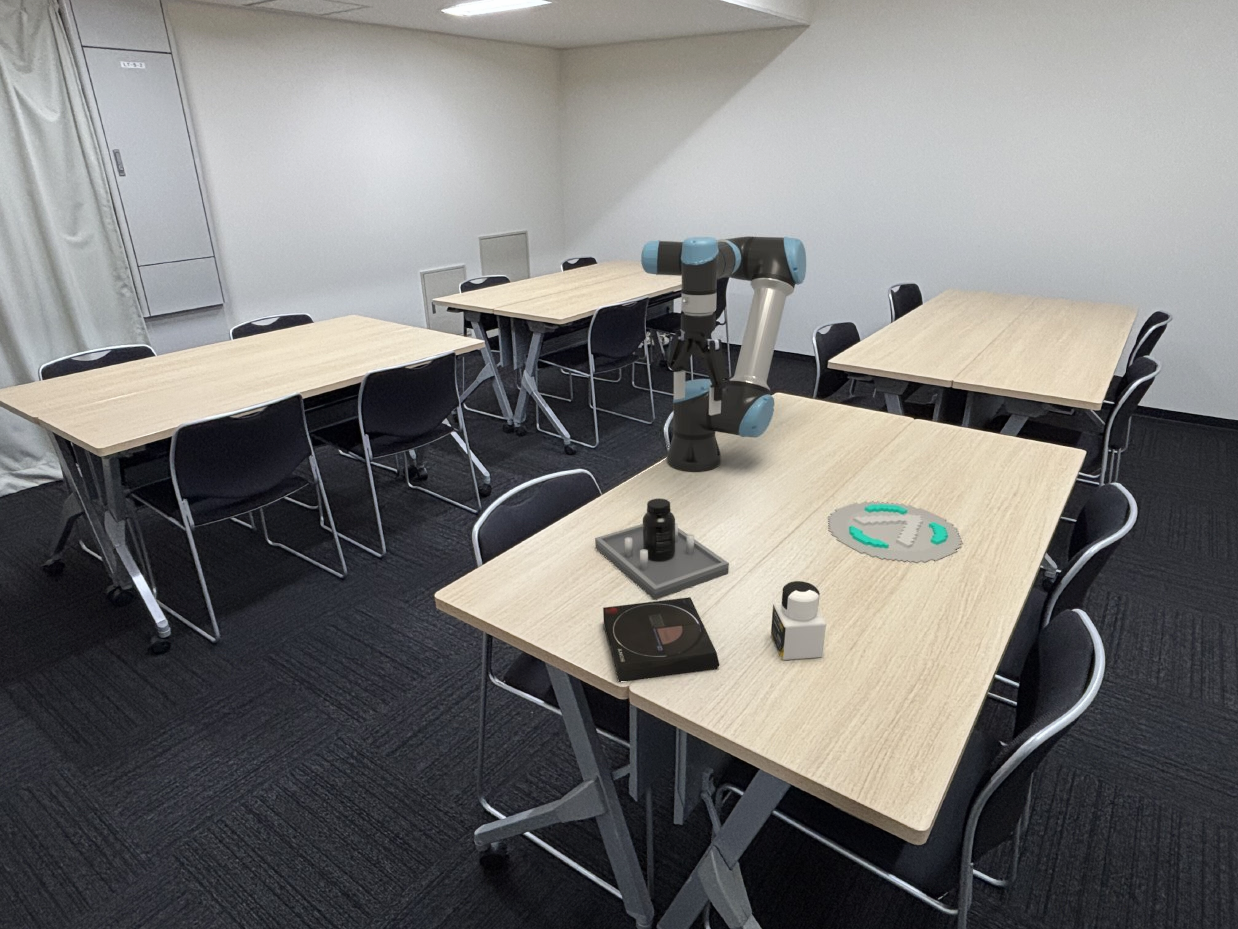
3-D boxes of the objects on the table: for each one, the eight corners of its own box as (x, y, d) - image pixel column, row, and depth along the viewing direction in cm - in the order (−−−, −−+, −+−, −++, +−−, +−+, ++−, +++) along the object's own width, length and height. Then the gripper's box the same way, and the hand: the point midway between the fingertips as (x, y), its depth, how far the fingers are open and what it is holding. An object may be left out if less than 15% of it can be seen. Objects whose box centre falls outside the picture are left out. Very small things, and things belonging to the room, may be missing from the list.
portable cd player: (719, 671, 119) (720, 651, 117) (618, 684, 116) (618, 665, 115) (693, 614, 134) (693, 596, 132) (603, 625, 131) (603, 607, 130)
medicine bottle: (770, 635, 127) (774, 577, 122) (809, 632, 127) (815, 575, 122) (781, 661, 120) (786, 601, 115) (823, 658, 120) (829, 598, 116)
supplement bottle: (678, 548, 153) (679, 498, 148) (670, 564, 147) (671, 512, 142) (648, 543, 155) (647, 494, 150) (638, 559, 149) (638, 508, 144)
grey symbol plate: (987, 541, 157) (988, 534, 156) (901, 578, 144) (902, 571, 143) (885, 495, 179) (885, 489, 178) (802, 523, 166) (803, 517, 165)
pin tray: (595, 548, 157) (594, 526, 154) (663, 527, 165) (663, 505, 163) (654, 600, 138) (654, 575, 135) (728, 573, 146) (729, 550, 144)
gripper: (652, 305, 162) (652, 395, 170) (720, 324, 142) (717, 424, 150) (679, 302, 165) (678, 389, 174) (749, 319, 145) (744, 417, 154)
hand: (696, 406), depth 162 cm, fingers open, 13 cm apart
